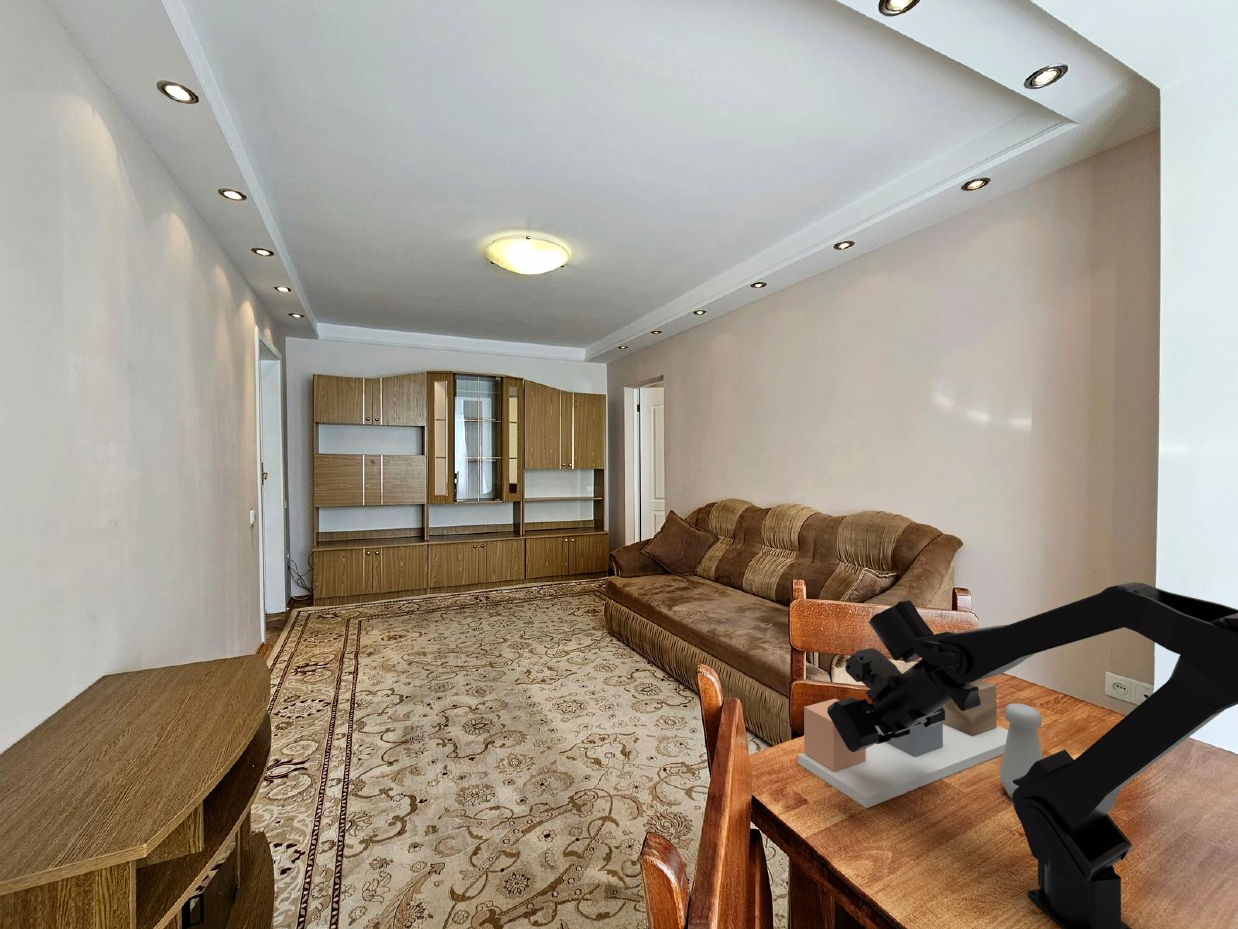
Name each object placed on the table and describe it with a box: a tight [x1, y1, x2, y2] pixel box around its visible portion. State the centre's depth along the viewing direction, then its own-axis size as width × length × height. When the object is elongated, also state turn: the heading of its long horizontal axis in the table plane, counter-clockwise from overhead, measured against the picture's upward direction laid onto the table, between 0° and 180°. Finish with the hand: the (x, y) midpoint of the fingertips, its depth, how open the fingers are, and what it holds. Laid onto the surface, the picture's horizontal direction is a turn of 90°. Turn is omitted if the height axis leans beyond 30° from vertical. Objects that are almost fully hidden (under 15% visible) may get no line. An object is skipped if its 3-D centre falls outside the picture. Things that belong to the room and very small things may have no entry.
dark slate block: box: [887, 718, 943, 756], centre depth 92 cm, size 6×7×8 cm
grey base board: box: [797, 724, 1008, 809], centre depth 91 cm, size 39×13×2 cm, turn 116°
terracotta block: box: [803, 698, 866, 771], centre depth 88 cm, size 6×7×8 cm
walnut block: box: [943, 679, 998, 736], centre depth 98 cm, size 6×7×8 cm
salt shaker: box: [998, 703, 1044, 799], centre depth 80 cm, size 6×6×13 cm
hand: (854, 737), depth 84 cm, fingers closed
